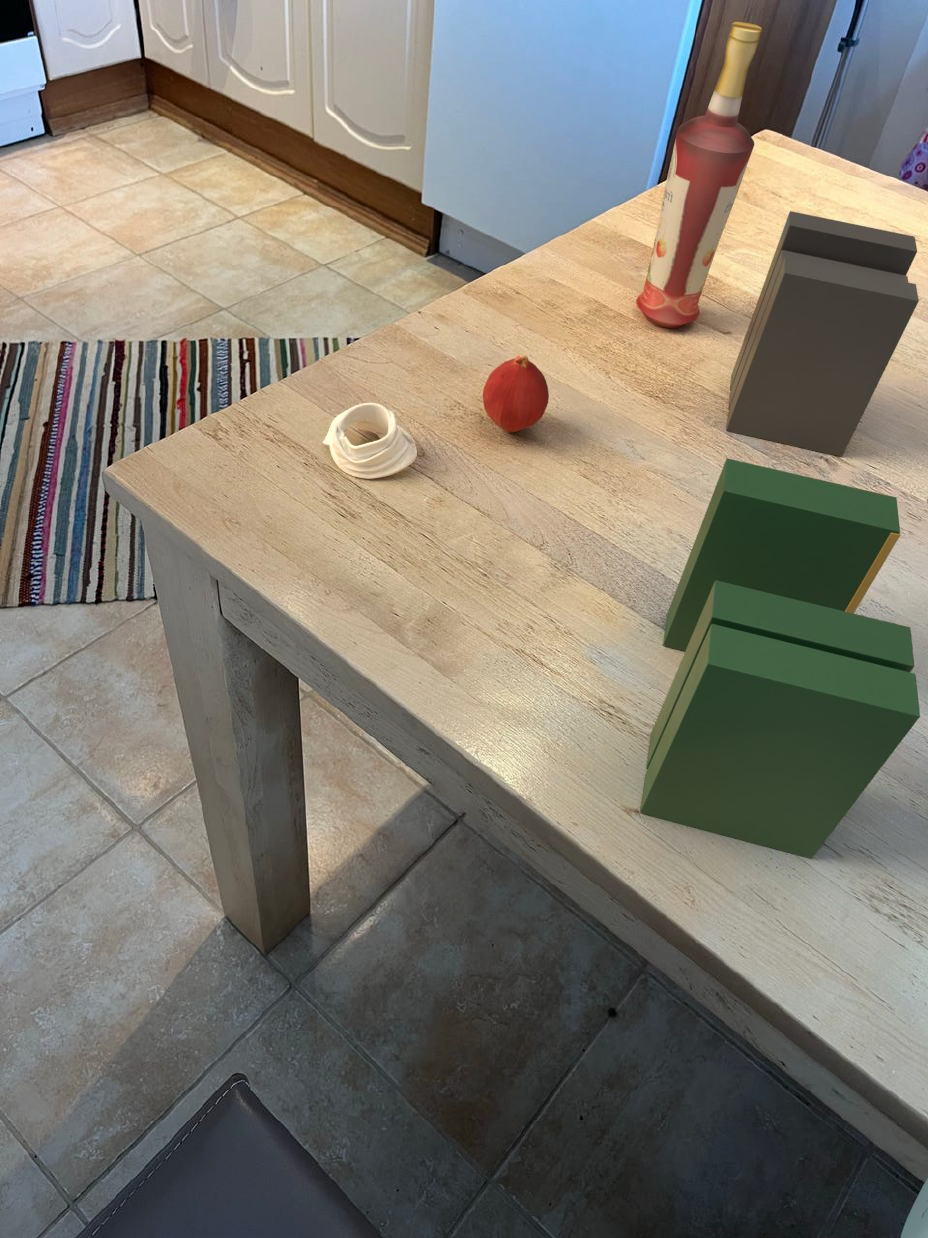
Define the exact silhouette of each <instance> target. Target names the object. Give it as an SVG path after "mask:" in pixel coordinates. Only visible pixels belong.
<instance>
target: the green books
mask: <svg viewBox="0 0 928 1238" xmlns="http://www.w3.org/2000/svg"><path fill="white" fill-rule="evenodd" d="M911 630H912V629H911V627H910V626H908V625H907V626H906V625H902V624H899V623H893V622H890V621H886V620H882V619H878V618H873V617H869V616H865V615H861V614H857V613H854V614H853V613H849V612H845V611H841V610H836V609H832V608H828V607H824V606H820V605H816V604H812V603H808V602H803V601H799V600H795V599H791V598H787V597H783V596H779V595H775V594H770V593H766V592H762V591H758V590H754V589H750V588H746V587H741V586H737V585H733V584H729V583H725V582H721V581H717V580H716V581H715V582H714V585H713V587H712V589H711V592H710V594H709V596H708V599H707V601H706V604H705V606H704V608H703V611H702V613H701V615H700V618H699V620H698V623H697V625H696V627H695V630H694V632H693V635H692V637H691V639H690V642H689V644H688V646H687V649H686V651H684V653H683V656H682V658H681V661H680V663H679V665H678V668H677V670H676V673H675V674H674V678H673V679H672V682H671V685H670V687H669V690H668V692H667V694H666V697H665V699H664V702H663V703H662V705H661V708H660V711H659V713H658V715H657V718H656V720H655V723H654V725H653V727H652V730H651V732H650V736H649V744H648V750H647V751H648V752H647V758H646V764H645V765H646V766H645V769H646V772H645V774H644V779H643V786H642V787H643V788H642V793H641V795H642V796H641V800H640V801H641V802H640V810H639V813H640V814H643V815H646V816H651V817H655V818H658V819H662V820H666V821H669V822H673V823H677V824H680V825H683V826H688V827H691V828H694V829H695V828H696V829H699V830H702V831H705V832H706V831H707V832H710V833H714V834H717V835H721V836H726V837H730V838H734V839H736V840H741V841H744V842H748V843H751V844H755V845H758V846H763V847H767V848H770V849H775V850H777V851H781V852H785V853H789V854H793V855H795V856H796V855H797V856H800V857H804V858H808V859H813V858H814V856H815V855H816V854H817V853H818V852H819V850H820V849H821V847H823V845H824V843H825V842H826V841H827V840H828V838H829V837H830V836H831V835H832V833H833V832H834V831H835V829H836V828H837V826H838V825H839V824H840V822H841V821H842V820H843V819H844V817H845V816H846V815H847V813H848V812H849V811H850V809H851V808H852V807H853V805H854V804H855V803H856V801H857V800H858V799H859V798H860V796H861V795H862V794H863V792H864V791H865V790H866V789H867V787H868V786H869V784H870V783H871V782H872V781H873V779H874V778H875V777H876V775H877V774H878V773H879V771H880V770H881V769H882V768H883V766H884V765H885V763H887V762H888V760H889V758H890V757H891V755H892V754H893V753H894V752H895V750H896V749H897V747H899V745H900V744H901V742H902V741H903V740H904V739H905V738H906V736H907V735H908V734H909V732H910V731H911V729H912V728H913V727H914V725H915V724H916V723H917V721H918V720H919V719H920V717H921V712H920V703H919V695H918V693H919V692H918V684H917V676H916V675H917V674H916V673H913V672H912V671H913V669H914V668H915V658H914V650H913V649H914V648H913V639H912V631H911Z"/></svg>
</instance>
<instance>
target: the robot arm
mask: <svg viewBox="0 0 928 1238" xmlns="http://www.w3.org/2000/svg"><path fill="white" fill-rule="evenodd" d="M926 499H927V502H928V498H926ZM900 1238H928V1177H927V1178H926V1180H925V1181H924V1183H923V1185H922V1187H921V1189H920V1191H919V1193H918V1194H917V1197H916V1199H915V1201H914V1203H913V1205H912V1207H911V1208H910V1212H909V1213H908V1215H907V1217H906V1220H905V1223H904V1226H903V1228H902V1232H901V1234H900Z"/></svg>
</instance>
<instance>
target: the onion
mask: <svg viewBox="0 0 928 1238" xmlns="http://www.w3.org/2000/svg"><path fill="white" fill-rule="evenodd" d="M549 393H550V391H549V387H548V383H547V379H546V378H545V375H544V374H543V372H542V371H541V370H540V369H539V368H538V367H537V366H536V364H535V363H533V362H531V361H530V360H529V357H528V356H527V355H526V354H523V353H521V354H519V355H518V356H517V357H515V358H511V359H509V360H505V361H504V362H503V363H501V364H500V365H498V366H497V367H495V369H493V370H492V371H491V372H490V373H489V375H488V378H487V380H486V382H485V384H484V387H483V390H482V403H483V407H484V411H485V413H486V415H487V416H488V418H489V419H490V420H491V421H492V422H493V423H494V424H495V425H497V426H498V427H500V428H502V430H504V431H505V432H506V433H508V434H514V433H517V432H519V431H521V430H524V429H526V428H529V427H531V426H533V425H536V423H538V422H539V421H540V420H541V419H542V418H543V416H544V414H545V412H546V410H547V408H548V404H549V397H550V394H549Z"/></svg>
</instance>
